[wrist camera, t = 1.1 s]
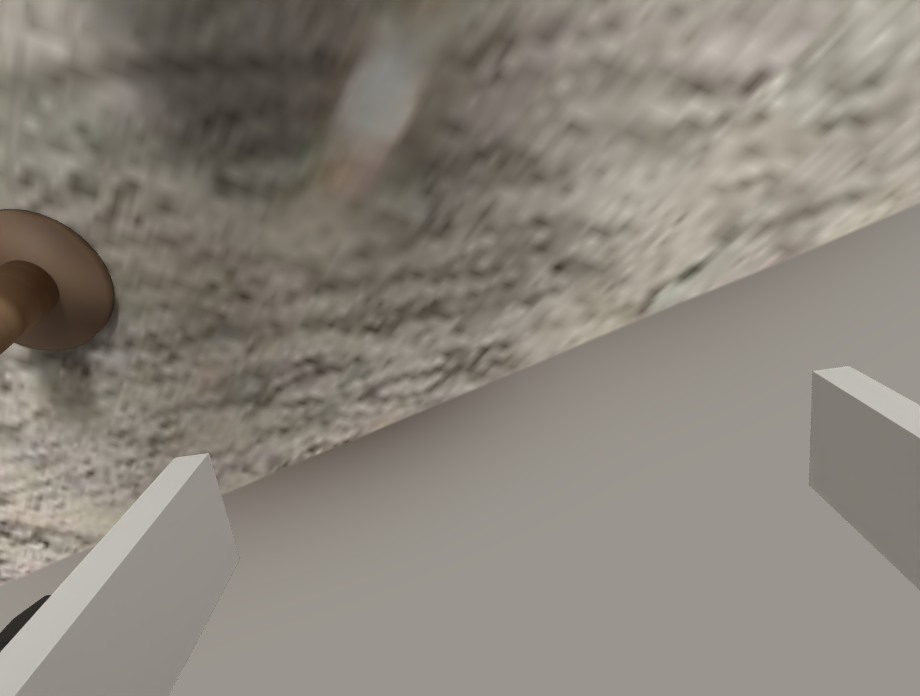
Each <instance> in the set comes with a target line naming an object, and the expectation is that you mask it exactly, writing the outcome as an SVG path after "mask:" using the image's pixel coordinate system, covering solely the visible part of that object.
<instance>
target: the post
mask: <svg viewBox="0 0 920 696" xmlns="http://www.w3.org/2000/svg"><path fill="white" fill-rule="evenodd" d="M113 306H114V289H113V284H112V280H111V277H110V275H109V272H108V270H107V268H106V266H105V265H104V263H103V261H102V260H101V258H100V257H99V255H98V254H97V253H96V251H95V250H94V249H93V248H92V247H91V246H90V245H89V244H88V243H87V242H86V241H85V240H84V239H83V238H82V237H81V236H79V235H78V234H77V233H75V232H74V231H73V230H71V229H70V228H68V227H67V226H65V225H63V224H62V223H60V222H58V221H56V220H54V219H52V218H49V217H47V216H44V215H41V214H38V213H34V212H30V211H26V210H18V209H4V210H0V354H1V353H3V352H4V351H5V350H6V349H7V348H8V347H9V346H11V345H12V344H13V343H14V342H15V343H17V344H20V345H23V346H26V347H30V348H34V349H40V350H66V349H71V348H75V347H77V346H80V345H82V344H84V343H86V342H87V341H89V340H90V339H92V338H93V337H94V336H95V335H96V334H97V333H98V332H99V331H100V330H101V329H102V328H103V326H104V325H105V324H106V323H107V321H108V320H109V318H110V316H111V313H112V310H113Z"/></svg>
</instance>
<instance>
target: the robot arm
mask: <svg viewBox="0 0 920 696" xmlns="http://www.w3.org/2000/svg"><path fill="white" fill-rule="evenodd" d="M811 407H812V408H811V436H810V469H809V485H810V486H811V487H812V488H813V489H814V490H815V491H816V492H817V493H818V494H819V495H820V496H821V497H822V498H823V499H824V500H825V501H826V502H828V503H829V504H830V505H831V506H832V507H833V508H834V509H835V510H836V511H837V512H838V513H839V514H840V515H841V516H842V517H843V518H844V519H845V520H846V521H848V522H849V523H850V524H851V525H852V526H853V527H854V528H855V529H856V530H857V531H858V532H859V533H860V534H861V535H862V536H863V537H864V538H865V539H866V540H867V541H869V542H870V543H871V544H872V545H873V546H874V547H875V548H876V549H877V550H878V551H879V552H880V553H881V554H882V555H883V556H884V557H886V558H887V560H888V561H890V562H891V563H892V564H893V565H894V566H895V567H896V568H897V569H898V570H899V571H900V572H901V573H902V574H903V575H904V576H905V577H906V578H908V580H910V581H911V582H912V583H913V584H914V585H915V586H916V587H917V588H918V589H919V590H920V405H918V404H916V403H915V402H913V401H911V400H909V399H907V398H906V397H904V396H902V395H900V394H898V393H897V392H895V391H893V390H891V389H889V388H888V387H886V386H884V385H882V384H880V383H879V382H877V381H875V380H873V379H871V378H870V377H868V376H866V375H864V374H862V373H860V372H859V371H857V370H855V369H853V368H851V367H850V366H846V367H839V368H832V369H825V370H817V371H813V374H812V406H811ZM239 560H240V557H239V553H238V550H237V546H236V543H235V540H234V536H233V533H232V529H231V526H230V523H229V519H228V516H227V513H226V509H225V506H224V502H223V499H222V496H221V492H220V489H219V486H218V482H217V479H216V475H215V472H214V469H213V465H212V462H211V459H210V455H209V453H205V454H198V455H190V456H183V457H176V458H174V459H173V460H172V461H171V462H170V464H169V465H168V466H167V467H166V468H165V469H164V470H163V471H162V472H161V474H160V475H159V476H158V477H157V478H156V479H155V480H154V481H153V483H152V484H151V485H150V486H149V487H148V488H147V489H146V490H145V491H144V493H143V494H142V495H141V496H140V497H139V498H138V499H137V500H136V501H135V503H134V504H133V505H132V506H131V507H130V508H129V509H128V510H127V512H126V513H125V514H124V515H123V516H122V517H121V518H120V519H119V520H118V522H117V523H116V524H115V525H114V526H113V527H112V528H111V529H110V530H109V532H108V533H107V534H106V535H105V536H104V537H103V538H102V539H101V540H100V542H99V543H98V544H97V545H96V546H95V547H94V548H93V549H92V551H91V552H90V553H89V554H88V555H87V556H86V557H85V558H84V560H83V561H82V562H81V563H80V564H79V565H78V566H77V567H76V568H75V569H74V571H73V572H72V573H71V574H70V575H69V576H68V577H67V578H66V580H65V581H64V582H63V583H62V584H61V585H60V586H59V587H58V588H57V590H56V591H55V592H54V593H53V594H52V595H47V596H44V597H43V598H41V599H40V600H39V601H37V602H36V603H35V604H33V605H32V606H31V607H29V608H28V609H26V610H25V611H23V612H22V613H21V614H19V615H18V616H17V617H15V618H14V619H13V620H12V621H11V622H10V623H9V624H8V625H7V626H6V627H5V629H4V630H3V631H2V632H1V633H0V696H169V695H170V693H171V691H172V689H173V686H174V685H175V683H176V681H177V679H178V677H179V675H180V673H181V671H182V670H183V668H184V666H185V664H186V662H187V660H188V658H189V656H190V654H191V652H192V650H193V648H194V646H195V645H196V643H197V640H198V639H199V637H200V635H201V633H202V631H203V629H204V627H205V625H206V623H207V621H208V619H209V617H210V615H211V614H212V612H213V610H214V608H215V606H216V604H217V602H218V600H219V598H220V596H221V594H222V592H223V590H224V589H225V586H226V585H227V583H228V581H229V579H230V577H231V575H232V573H233V571H234V569H235V567H236V566H237V564H238V562H239Z"/></svg>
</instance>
